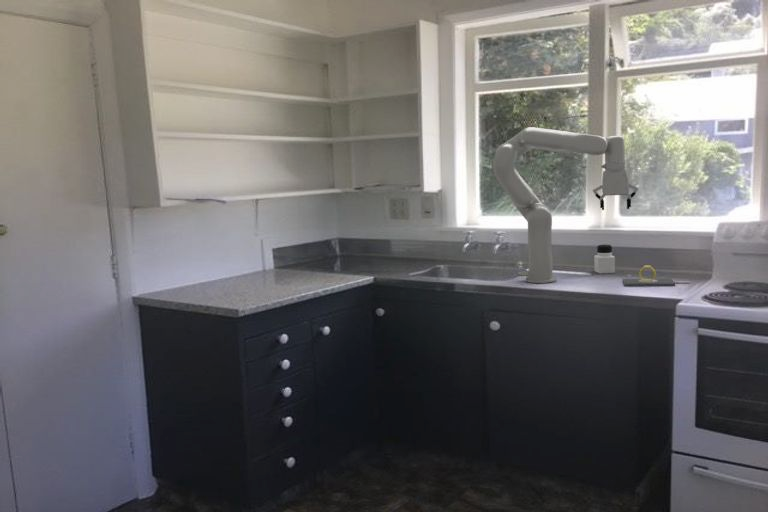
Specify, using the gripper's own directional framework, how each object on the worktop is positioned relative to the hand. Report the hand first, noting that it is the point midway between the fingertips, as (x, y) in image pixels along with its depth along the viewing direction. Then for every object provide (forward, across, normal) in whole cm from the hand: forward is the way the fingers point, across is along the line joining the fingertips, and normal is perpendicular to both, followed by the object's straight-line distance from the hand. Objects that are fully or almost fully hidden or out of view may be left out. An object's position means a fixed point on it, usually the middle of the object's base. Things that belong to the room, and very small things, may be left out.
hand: (615, 209), depth 277 cm
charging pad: (+28, +14, -13) cm, 34 cm away
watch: (+27, +11, -13) cm, 32 cm away
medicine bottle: (+28, -4, +17) cm, 33 cm away
